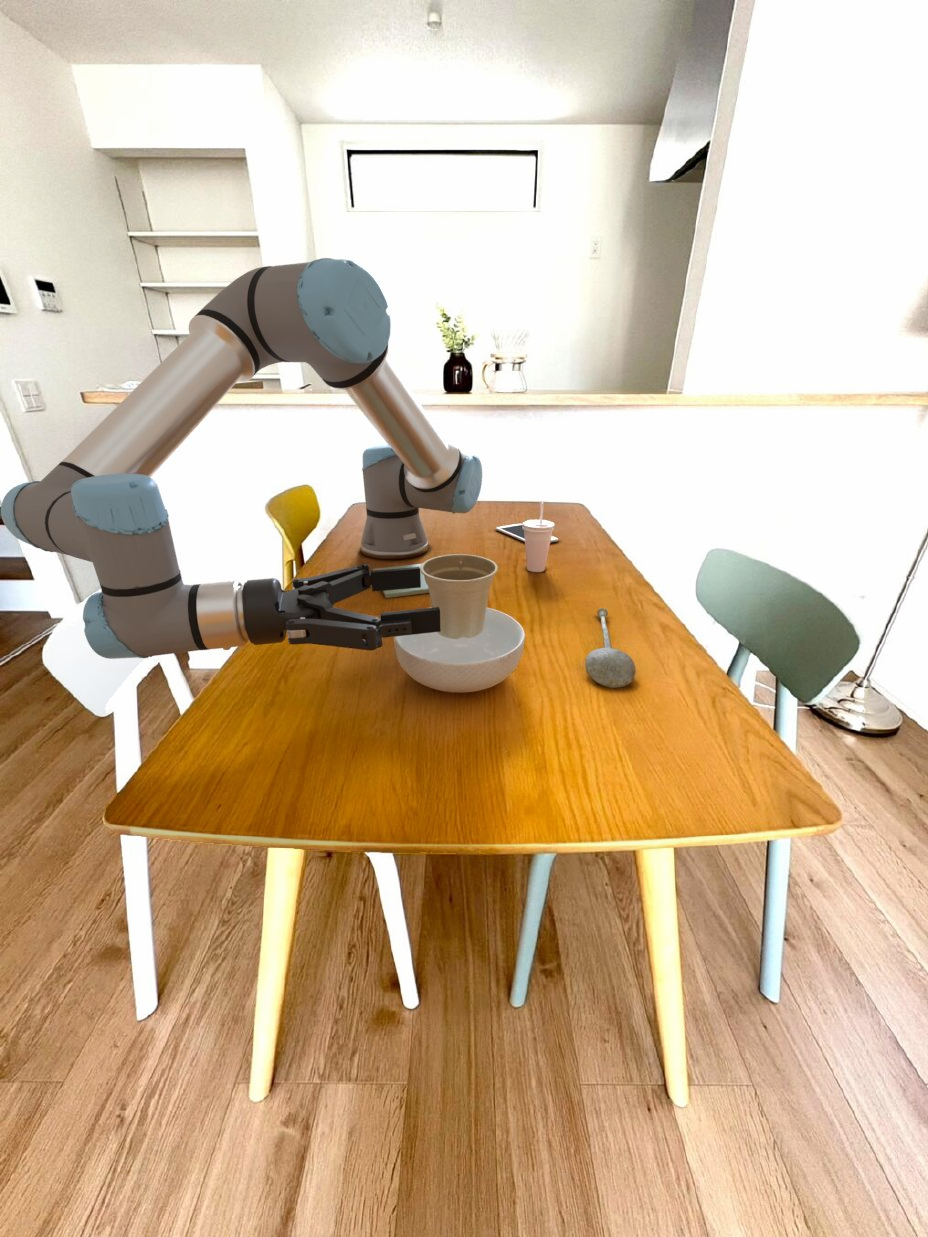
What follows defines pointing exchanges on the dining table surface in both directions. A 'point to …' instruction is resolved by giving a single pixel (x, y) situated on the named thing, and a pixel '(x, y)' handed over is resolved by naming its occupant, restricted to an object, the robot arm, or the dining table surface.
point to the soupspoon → (609, 661)
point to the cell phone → (517, 532)
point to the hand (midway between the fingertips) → (429, 596)
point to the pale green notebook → (411, 590)
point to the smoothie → (537, 542)
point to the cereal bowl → (464, 655)
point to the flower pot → (459, 592)
